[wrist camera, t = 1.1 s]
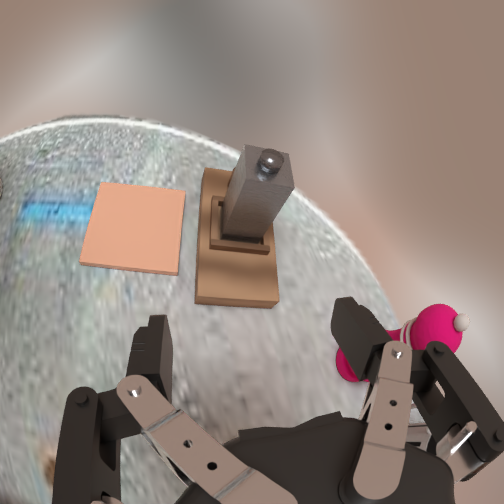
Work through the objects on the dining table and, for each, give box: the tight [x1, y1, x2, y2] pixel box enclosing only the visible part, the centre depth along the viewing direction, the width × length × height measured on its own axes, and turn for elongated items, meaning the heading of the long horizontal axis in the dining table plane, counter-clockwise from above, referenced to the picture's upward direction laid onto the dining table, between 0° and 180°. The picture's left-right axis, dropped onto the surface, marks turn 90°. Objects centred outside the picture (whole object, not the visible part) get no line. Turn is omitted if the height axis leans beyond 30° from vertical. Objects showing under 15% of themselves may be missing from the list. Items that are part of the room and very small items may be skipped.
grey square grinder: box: [220, 145, 295, 244], centre depth 33 cm, size 5×5×13 cm
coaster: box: [79, 182, 185, 276], centre depth 37 cm, size 13×13×1 cm
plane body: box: [195, 167, 279, 308], centre depth 39 cm, size 20×10×6 cm, turn 3°
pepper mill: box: [336, 304, 470, 382], centre depth 29 cm, size 7×7×20 cm
